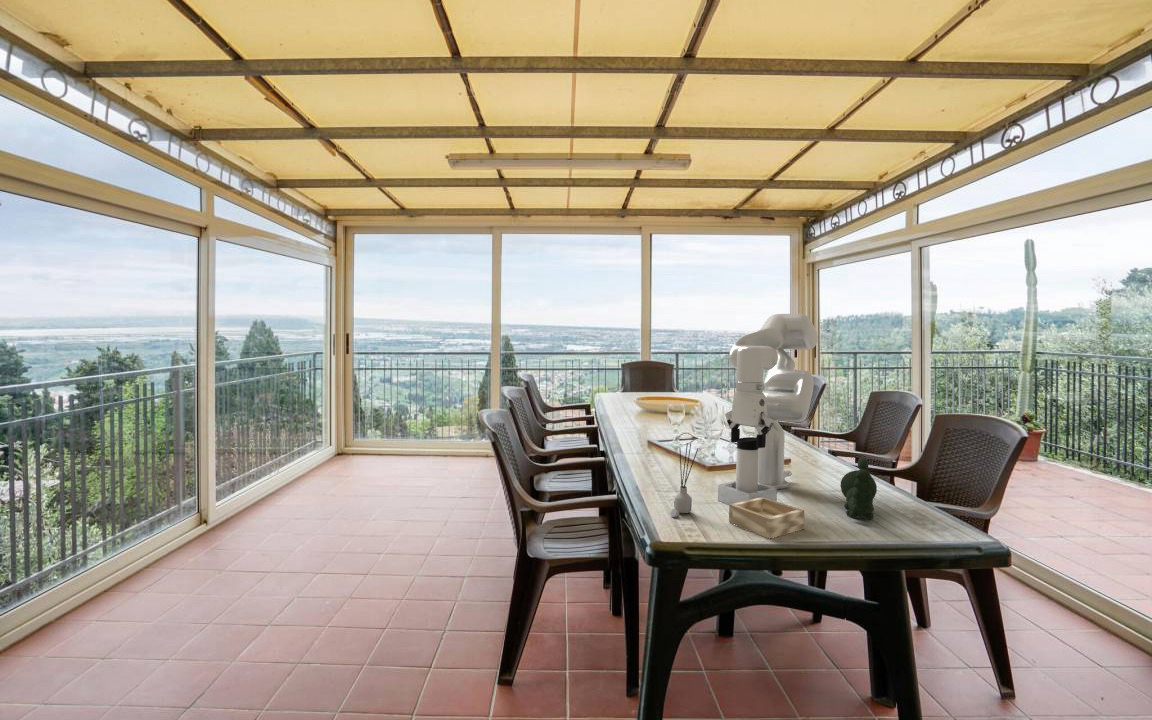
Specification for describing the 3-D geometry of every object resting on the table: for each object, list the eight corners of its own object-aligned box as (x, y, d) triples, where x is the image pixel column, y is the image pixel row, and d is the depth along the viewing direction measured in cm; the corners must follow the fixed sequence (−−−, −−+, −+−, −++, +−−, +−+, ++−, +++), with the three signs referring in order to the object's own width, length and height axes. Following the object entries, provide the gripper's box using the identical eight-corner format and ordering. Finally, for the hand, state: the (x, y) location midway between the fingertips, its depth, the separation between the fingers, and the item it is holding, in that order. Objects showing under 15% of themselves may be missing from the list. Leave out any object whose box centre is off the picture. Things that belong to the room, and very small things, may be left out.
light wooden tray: (762, 514, 154) (762, 496, 154) (803, 529, 143) (804, 510, 143) (728, 522, 147) (729, 504, 147) (769, 539, 136) (770, 519, 136)
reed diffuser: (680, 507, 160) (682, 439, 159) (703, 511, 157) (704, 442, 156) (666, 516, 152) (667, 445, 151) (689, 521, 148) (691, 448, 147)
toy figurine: (881, 535, 143) (873, 500, 166) (885, 466, 141) (876, 440, 163) (841, 530, 147) (838, 496, 170) (844, 462, 145) (841, 437, 167)
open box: (744, 494, 173) (745, 479, 173) (776, 505, 163) (777, 488, 162) (717, 500, 167) (718, 484, 166) (748, 511, 156) (749, 494, 156)
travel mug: (759, 506, 161) (761, 439, 160) (736, 505, 162) (737, 438, 161) (757, 500, 167) (758, 435, 166) (734, 499, 168) (736, 434, 167)
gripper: (782, 389, 157) (780, 448, 158) (735, 385, 172) (734, 439, 173) (764, 390, 153) (762, 451, 154) (718, 385, 168) (717, 441, 169)
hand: (747, 444), depth 163 cm, fingers open, 9 cm apart
